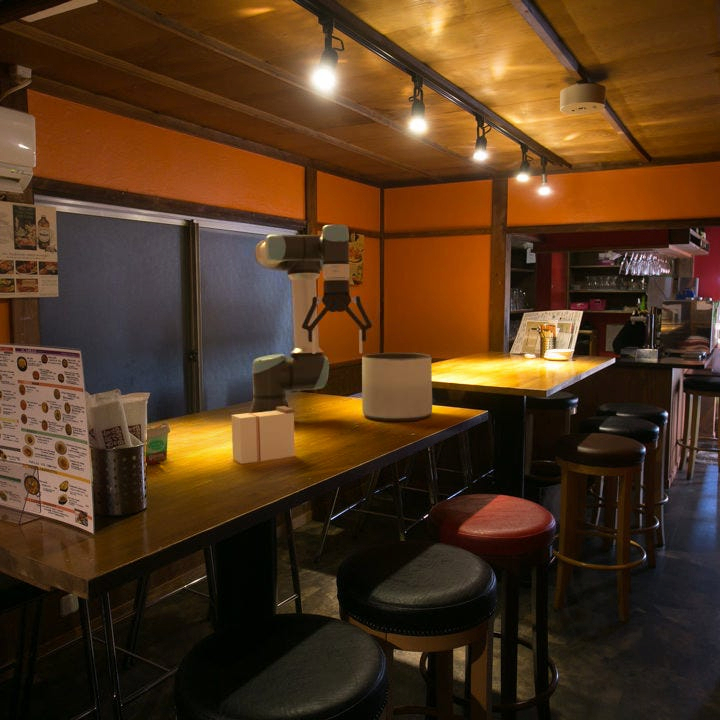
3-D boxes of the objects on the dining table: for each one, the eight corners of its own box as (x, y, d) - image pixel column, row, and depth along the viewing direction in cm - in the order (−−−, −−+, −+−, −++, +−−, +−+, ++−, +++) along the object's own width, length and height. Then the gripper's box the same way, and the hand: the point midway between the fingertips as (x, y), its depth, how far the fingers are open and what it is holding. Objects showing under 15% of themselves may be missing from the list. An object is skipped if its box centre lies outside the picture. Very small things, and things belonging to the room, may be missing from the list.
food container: (145, 469, 172) (143, 431, 171) (129, 466, 175) (127, 429, 174) (181, 459, 182) (179, 423, 181) (165, 456, 186) (164, 421, 185)
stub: (232, 459, 179) (231, 414, 177) (250, 456, 181) (249, 412, 180) (241, 463, 173) (239, 418, 172) (259, 461, 176) (257, 416, 175)
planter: (446, 417, 240) (446, 355, 237) (390, 425, 225) (389, 360, 223) (403, 407, 260) (402, 351, 258) (348, 415, 246) (347, 355, 244)
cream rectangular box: (251, 456, 181) (250, 409, 180) (285, 451, 187) (283, 406, 185) (260, 461, 176) (259, 412, 175) (294, 456, 181) (293, 409, 180)
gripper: (291, 280, 189) (292, 354, 191) (379, 278, 188) (380, 353, 190) (295, 280, 196) (296, 352, 199) (380, 279, 195) (380, 351, 197)
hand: (337, 353), depth 194 cm, fingers open, 13 cm apart
